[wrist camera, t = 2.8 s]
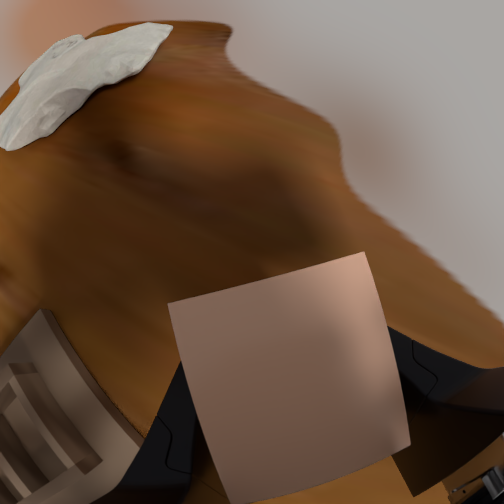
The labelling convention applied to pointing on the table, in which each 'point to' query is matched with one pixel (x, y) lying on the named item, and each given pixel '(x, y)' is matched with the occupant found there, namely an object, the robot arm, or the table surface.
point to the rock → (74, 79)
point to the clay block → (292, 378)
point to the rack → (57, 423)
